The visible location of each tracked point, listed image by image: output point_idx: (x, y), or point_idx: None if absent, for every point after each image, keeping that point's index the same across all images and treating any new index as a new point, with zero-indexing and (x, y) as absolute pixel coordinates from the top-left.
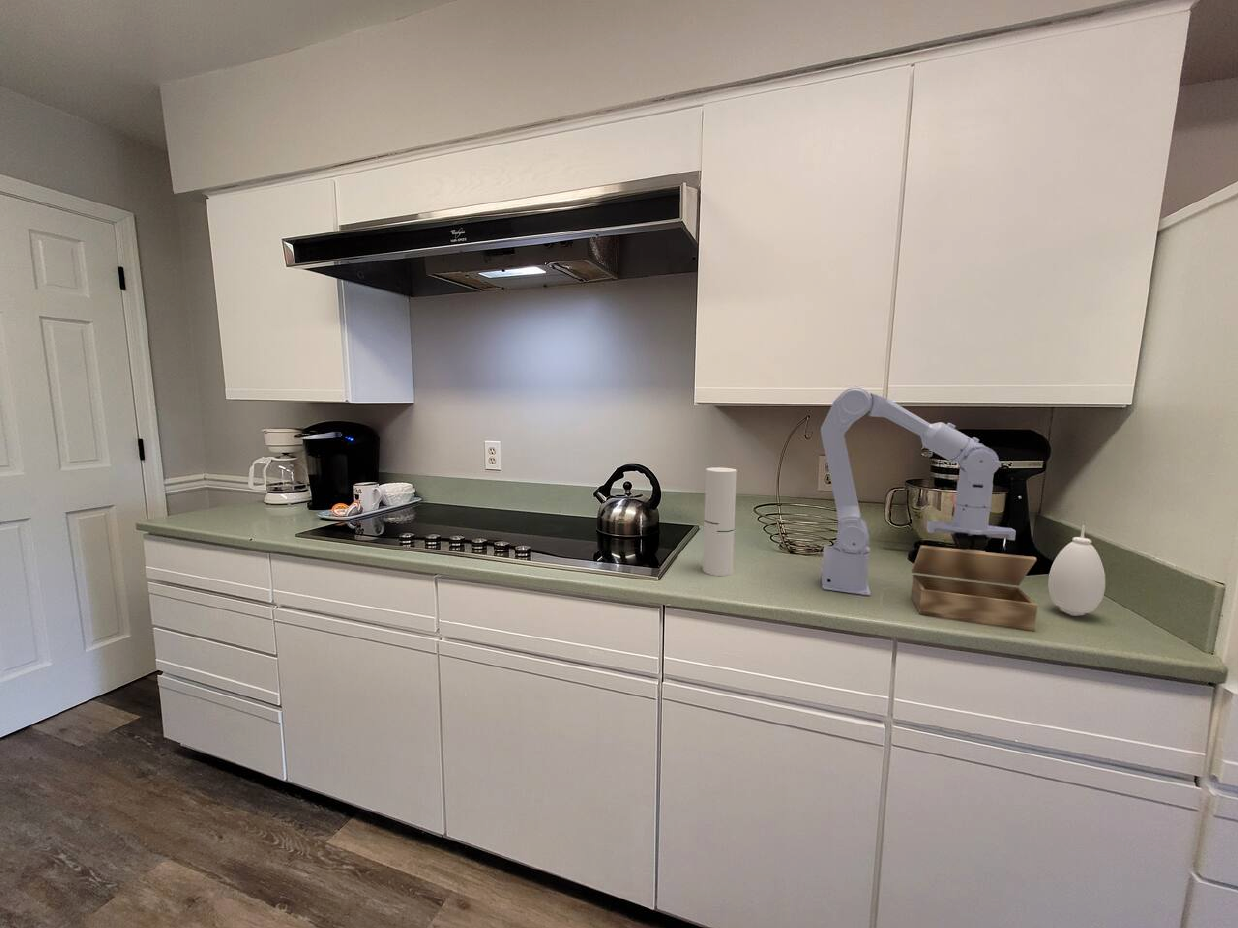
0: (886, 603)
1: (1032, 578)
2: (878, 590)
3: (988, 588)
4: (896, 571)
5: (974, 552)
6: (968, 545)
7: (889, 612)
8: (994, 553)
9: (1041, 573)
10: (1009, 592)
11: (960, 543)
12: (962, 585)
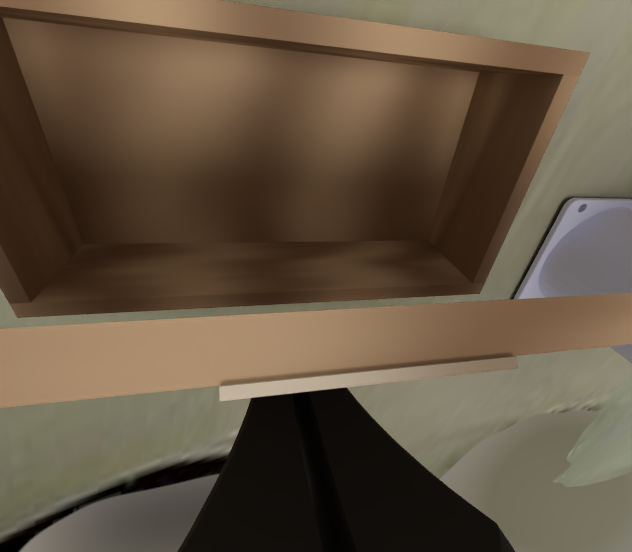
0: (547, 147)
1: (26, 509)
2: (502, 263)
3: (174, 284)
4: (378, 412)
5: (408, 327)
6: (371, 515)
7: (598, 38)
8: (37, 388)
9: (4, 541)
10: (74, 284)
11: (463, 516)
12: (289, 279)
